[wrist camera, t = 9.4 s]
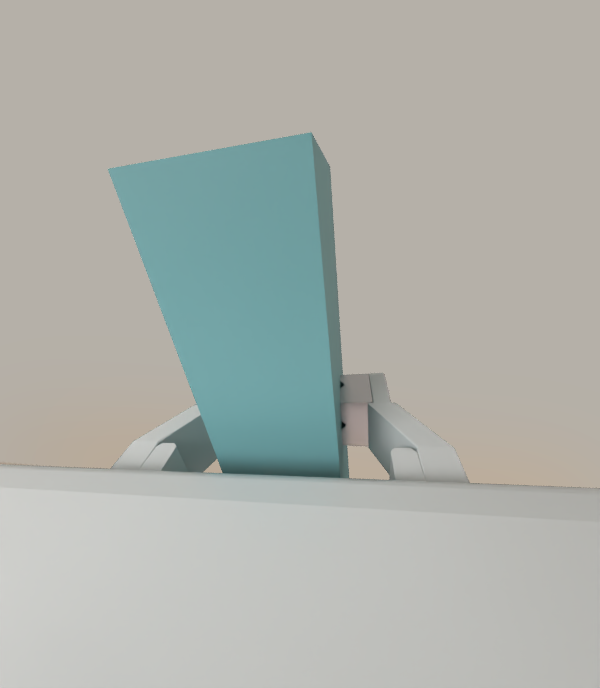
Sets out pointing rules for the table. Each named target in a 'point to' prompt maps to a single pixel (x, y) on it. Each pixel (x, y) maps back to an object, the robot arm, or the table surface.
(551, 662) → the robot arm
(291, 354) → the teal upright rectangular block
